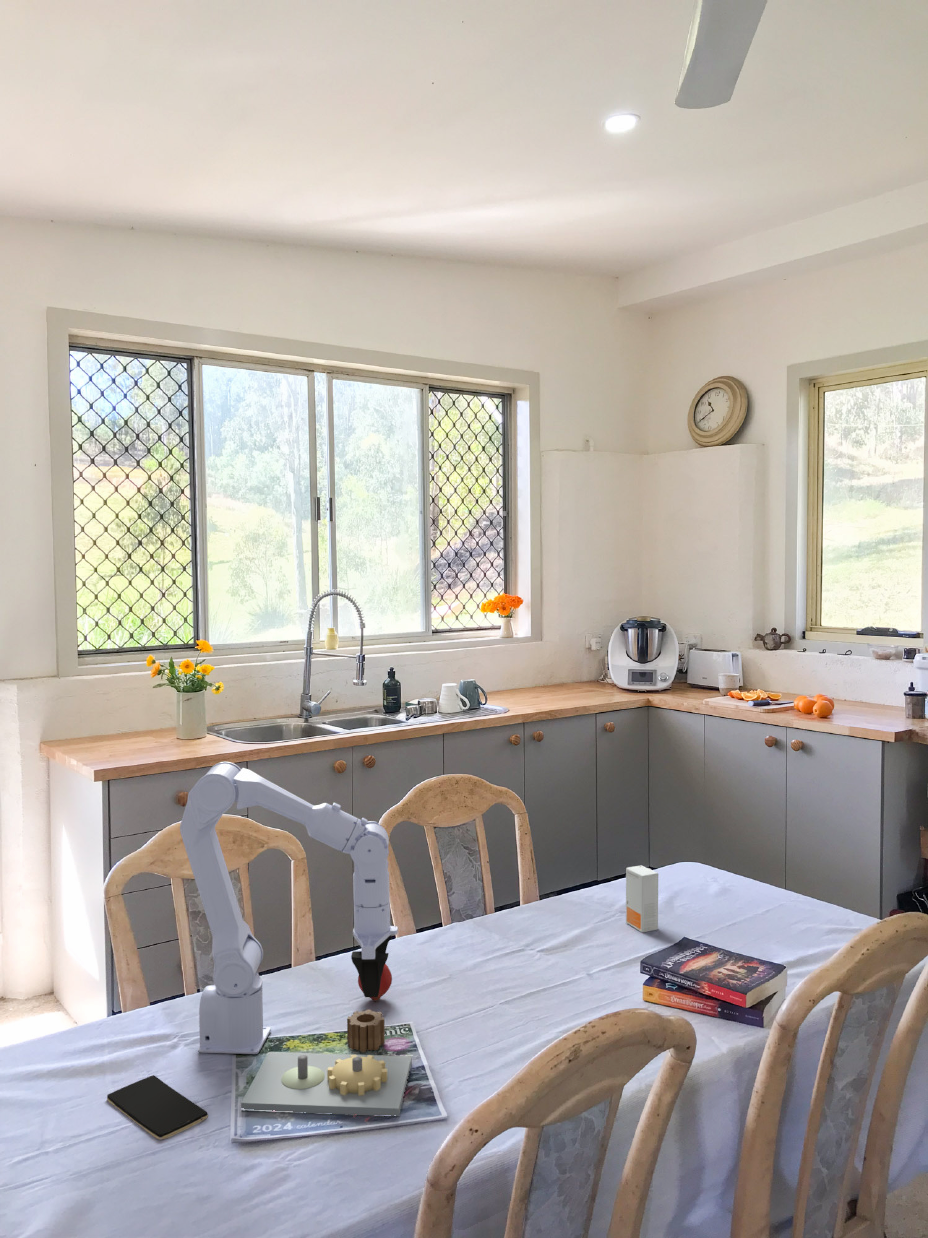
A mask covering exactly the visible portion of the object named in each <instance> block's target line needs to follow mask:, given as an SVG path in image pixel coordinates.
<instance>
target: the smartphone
mask: <svg viewBox="0 0 928 1238" xmlns="http://www.w3.org/2000/svg"><path fill="white" fill-rule="evenodd" d="M106 1100H107V1102H109V1103H110V1104H111V1105H112V1106H114V1108H116V1109H117V1110H119V1111H120V1112H121V1113H123V1115H125V1116H126V1117H128V1118H129V1119H130V1120H132V1121H133V1122H134V1123H135V1124H137V1125H138V1126H140V1128H142V1129H143V1130H144V1131H146V1132H147V1133H149V1135H151V1136H152V1137H154V1138H155V1139H157V1140H158V1141H159V1140H161V1141H162V1140H164V1139H168V1138H171V1137H173V1136H175V1135H177V1134H179V1133H181V1132H184V1131H185V1130H188V1129H190V1128H192V1127H194V1126H196V1125H197V1124H199V1123H201V1122H203V1121H205V1120H206V1119H207V1118H208V1117H209V1113H208V1111H206V1110H205V1109H204V1108H202V1107H201V1106H199V1105H197V1104H196V1103H194V1102H193V1101H191V1100H190V1099H189V1098H187V1097H185V1096H184V1095H183V1094H181V1093H180V1092H178V1091H176V1090H175V1089H174V1088H173V1087H171V1086H169V1085H168V1084H167V1083H165V1082H164V1081H162V1080H161V1079H160V1078H158V1077H157V1076H156V1075H151V1076H147V1077H144V1078H142V1079H140V1080H137V1081H136V1082H133V1083H130V1084H128V1085H125V1086H124V1087H121V1088H118V1089H117V1090H114V1091H113V1092H110V1093H108V1094H107V1095H106Z"/></svg>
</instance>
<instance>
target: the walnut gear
mask: <svg viewBox="0 0 928 1238" xmlns="http://www.w3.org/2000/svg"><path fill="white" fill-rule="evenodd" d="M346 1020H347V1021H346V1022H347V1024H346V1026H347V1028H346V1029H347V1030H346V1031H347V1033H346V1034H347V1039H346V1040H347V1041H346V1042H347V1043H346V1044H349V1045H348V1047H349V1049H350V1050H352V1051H353V1050H356V1051H359V1052H360V1053H366V1052H367V1051H368V1052H369V1050H370V1051H377V1050H379V1049H380V1047H381V1046H382V1045H383V1046H384V1045H385V1039H386V1038H385V1036H386V1035H385V1030H386V1028H385V1026H386V1025H385V1017H383V1013H382V1012H381V1011H373V1010H372V1009H365V1010H362V1011H358V1010H356V1011H353V1013H352V1014H351V1016H347V1019H346ZM379 1046H380V1047H379Z"/></svg>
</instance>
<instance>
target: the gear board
mask: <svg viewBox="0 0 928 1238" xmlns="http://www.w3.org/2000/svg"><path fill="white" fill-rule="evenodd" d="M412 1063H413V1058H412V1056H408V1055H407V1056H406V1055H381V1054H379V1055H378V1054H377V1055H376V1054H349V1053H348V1054H347V1053H346V1054H345V1053H313V1052H312V1053H311V1052H288V1051H287V1052H284V1051H282V1052H281V1051H268V1052H267V1054H266V1056H265V1058H264V1060H263V1061H262V1064H261V1065H260V1067H259V1069H258V1070H257V1073H256V1074H255V1075H254V1076H255V1077H254V1078H253V1080H252V1082H251V1084H250V1086H249V1088H248V1090H247V1092H246V1093H245V1095H244V1096H243V1099H242V1100H241V1102H240V1109H241V1108H244V1109H254V1110H272V1111H273V1110H275V1111H293V1112H303V1113H304V1112H306V1113H332V1114H345V1115H344V1116H349V1115H348V1114H353V1115H352V1116H357V1115H391V1116H394V1115H396V1116H399V1117H400V1115H399V1113H400V1114H401V1111H400V1109H401V1110H402V1106H401V1104H402V1105H403V1102H402V1100H403V1101H404V1098H403V1096H404V1097H405V1094H404V1092H405V1093H406V1090H405V1087H406V1088H407V1086H406V1084H407V1085H408V1081H407V1079H408V1080H409V1077H410V1073H409V1071H410V1072H411V1069H410V1068H412V1065H411V1064H412ZM408 1076H409V1077H408ZM303 1113H302V1114H303ZM355 1114H357V1115H355Z"/></svg>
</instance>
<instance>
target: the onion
mask: <svg viewBox="0 0 928 1238" xmlns="http://www.w3.org/2000/svg"><path fill="white" fill-rule="evenodd" d="M392 983H393V976H392V972H391V970H390V968H389V966H388V964H387V963H385V965H384V968H383V973H382V976H381V983H380V990H379V995H378V997H369V999H371V1000H372V1001H375V1002H377V1001H378V1000H380V999H381V998H382V997H384V995H385V994H386V993H388V991H389V989H390V987H391V985H392ZM357 984H358V987H359V989H360V990H361V992H362V993H363V989H362V985H361V980H360V977H359V975H358V977H357Z"/></svg>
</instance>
